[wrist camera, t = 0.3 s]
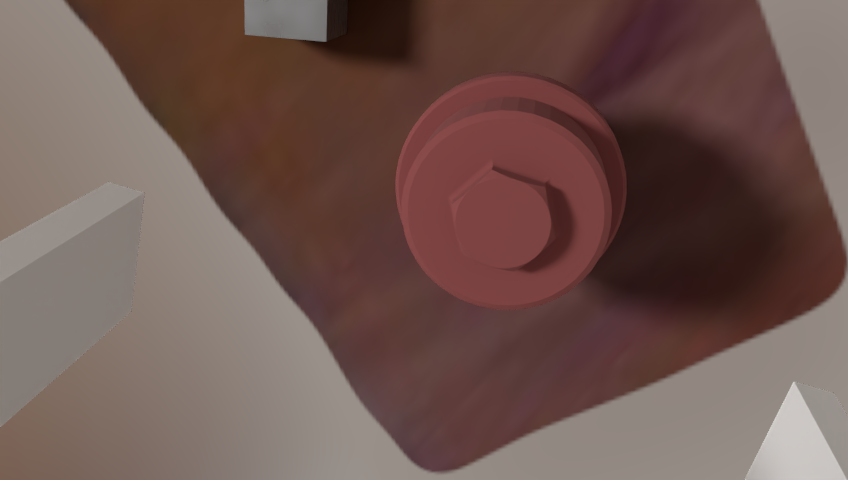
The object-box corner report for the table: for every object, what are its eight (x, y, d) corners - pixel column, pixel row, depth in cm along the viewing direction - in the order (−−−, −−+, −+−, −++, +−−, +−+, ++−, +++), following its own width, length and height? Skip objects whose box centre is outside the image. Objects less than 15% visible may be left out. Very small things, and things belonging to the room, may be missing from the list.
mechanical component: (403, 75, 41) (596, 32, 39) (446, 251, 44) (627, 220, 42) (346, 124, 30) (613, 66, 28) (409, 356, 33) (655, 321, 31)
